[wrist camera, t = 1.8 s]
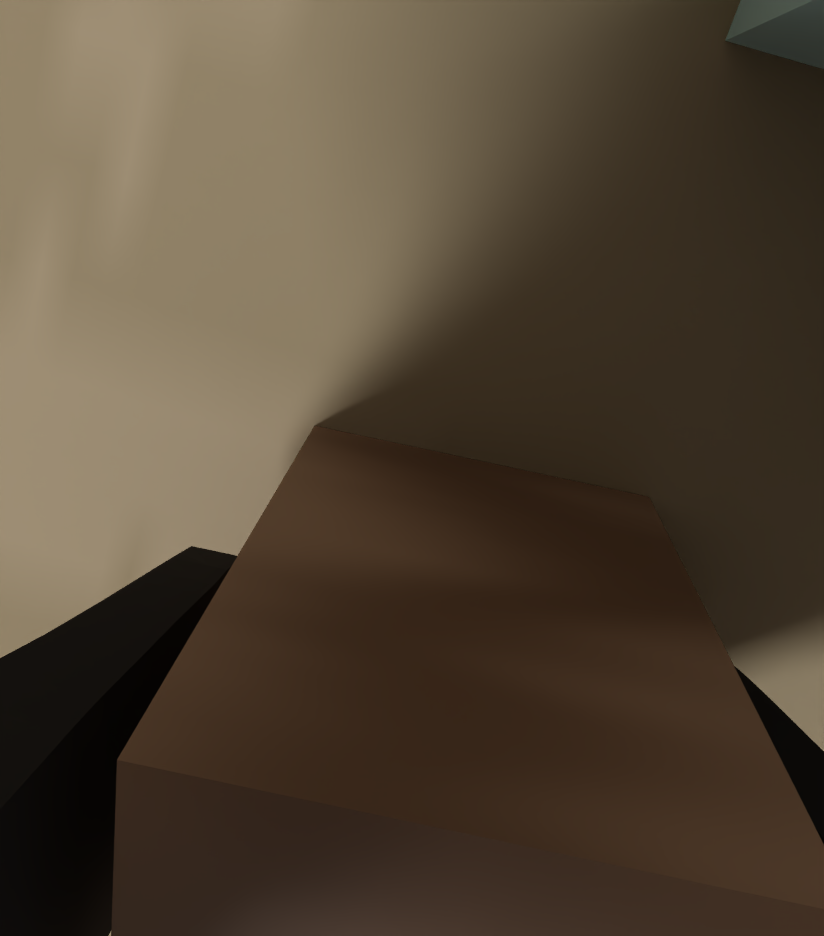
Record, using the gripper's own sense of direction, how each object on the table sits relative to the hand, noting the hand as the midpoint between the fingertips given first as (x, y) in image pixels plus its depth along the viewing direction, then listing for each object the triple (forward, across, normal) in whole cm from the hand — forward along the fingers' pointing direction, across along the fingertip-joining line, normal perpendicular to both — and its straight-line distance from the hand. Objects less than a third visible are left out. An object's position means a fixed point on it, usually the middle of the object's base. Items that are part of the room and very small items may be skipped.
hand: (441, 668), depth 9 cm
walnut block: (+2, 0, 0) cm, 2 cm away
